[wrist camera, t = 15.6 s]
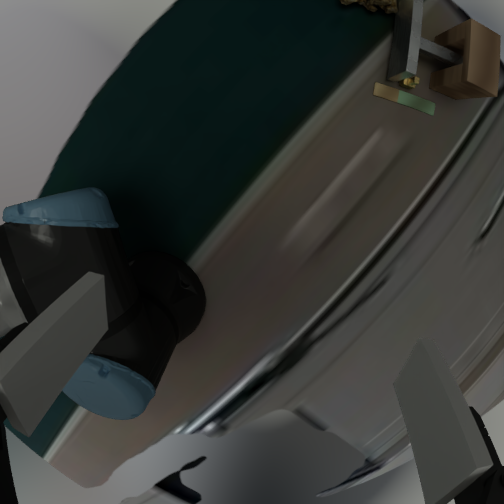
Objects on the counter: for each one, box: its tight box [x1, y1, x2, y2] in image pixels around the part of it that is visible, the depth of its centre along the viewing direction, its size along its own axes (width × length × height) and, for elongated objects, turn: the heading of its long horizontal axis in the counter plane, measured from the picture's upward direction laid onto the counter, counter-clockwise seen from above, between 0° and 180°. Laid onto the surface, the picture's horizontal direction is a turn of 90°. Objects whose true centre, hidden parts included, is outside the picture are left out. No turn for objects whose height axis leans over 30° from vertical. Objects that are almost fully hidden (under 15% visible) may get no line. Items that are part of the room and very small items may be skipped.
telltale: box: [399, 76, 419, 89], centre depth 32 cm, size 2×1×4 cm, turn 80°
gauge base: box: [373, 19, 500, 116], centre depth 28 cm, size 12×12×10 cm
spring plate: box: [387, 0, 463, 82], centre depth 27 cm, size 10×14×7 cm
